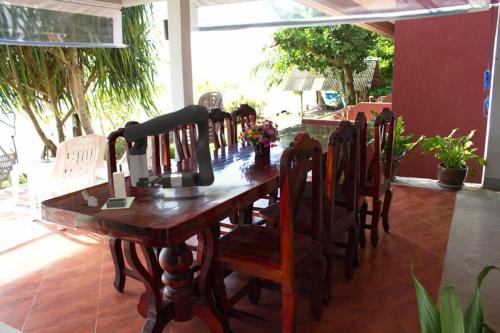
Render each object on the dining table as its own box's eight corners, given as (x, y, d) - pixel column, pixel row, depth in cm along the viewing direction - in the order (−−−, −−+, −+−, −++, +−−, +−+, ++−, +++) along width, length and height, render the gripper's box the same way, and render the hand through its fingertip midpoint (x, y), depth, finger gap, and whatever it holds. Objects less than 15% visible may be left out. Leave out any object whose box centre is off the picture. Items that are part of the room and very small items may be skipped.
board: (109, 200, 210) (108, 193, 210) (135, 199, 212) (134, 191, 211) (101, 211, 193) (100, 203, 192) (129, 210, 194) (128, 202, 193)
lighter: (98, 207, 199) (96, 190, 198) (95, 209, 198) (93, 191, 196) (85, 206, 202) (83, 189, 200) (82, 207, 200) (81, 190, 199)
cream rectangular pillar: (116, 199, 209) (113, 164, 205) (126, 198, 209) (123, 163, 206) (115, 200, 206) (112, 165, 202) (125, 200, 206) (122, 164, 203)
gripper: (172, 169, 214) (139, 171, 213) (170, 176, 200) (134, 177, 199) (173, 184, 216) (140, 186, 214) (171, 192, 202) (135, 193, 200)
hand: (137, 182), depth 206 cm, fingers open, 8 cm apart
